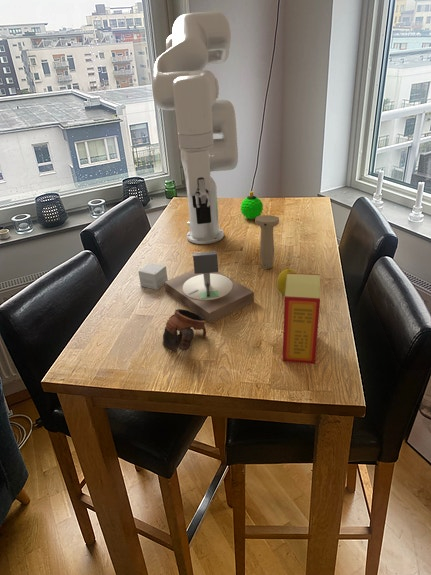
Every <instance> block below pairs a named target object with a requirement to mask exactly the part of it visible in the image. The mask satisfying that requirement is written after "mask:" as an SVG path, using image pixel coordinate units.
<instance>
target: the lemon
mask: <svg viewBox="0 0 431 575" xmlns="http://www.w3.org/2000/svg"><path fill="white" fill-rule="evenodd" d="M287 273H297V272H296V271H295V270H293V269H291V268H287V269H283V270H282V271H280V272H279V275H277V276H278V277H277V279H276V286H277V290H278V291H279V293H280V294H282V296H285V289H286V280H287Z"/></svg>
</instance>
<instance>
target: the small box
mask: <svg viewBox="0 0 431 575" xmlns="http://www.w3.org/2000/svg"><path fill="white" fill-rule="evenodd" d="M137 273H138V276H139V277H138V278H139V282H140V286H141V287H144V288H147V289H152V290H156V291H157V290H159V289H160V288H161V287H162V286H164V285H165V283H164V282H165V281H168V280H169V279H168V272H167V266H166V265H162V264H157V263H152V262H149V263H148V264H146V265H145V266H144V267H142V268H140V269H139V270H138V271H137Z"/></svg>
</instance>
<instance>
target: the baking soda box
mask: <svg viewBox="0 0 431 575" xmlns="http://www.w3.org/2000/svg"><path fill="white" fill-rule="evenodd" d="M320 278H321V275H320V274H318V273H317V274H316V273H297V272H296V273H287V280H286V289H285V295H284V301H283V302H284V304H283V305H284V306H283V334H282V335H283V342H282V343H283V344H282V345H283V346H282V362H288V363H289V362H291V363H302V364H316V354H317V342H318V333H319V332H318V331H319V330H318V329H319V318H320V307H321V306H320V304H321V282H320V281H321V279H320Z"/></svg>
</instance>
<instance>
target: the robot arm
mask: <svg viewBox="0 0 431 575" xmlns="http://www.w3.org/2000/svg"><path fill="white" fill-rule="evenodd" d="M171 32H172V34H170V35H169V36H168V37H167V38H166V41H165V48H166V50H165V52H163V53H162V54H161V55H159V56H158V57H157V58H156V61H155V63H154V66H153V71H152V84H151V86H152V96H153V100H154V103H155V104H156V107H157V108H159V109H160V110H163V111H174V113H175V122H176V132H177V142H178V149H179V150H180V161H181V164H182V165H181V166H182V168H183V173H184V178H185V185H186V193H187V204H188V205H187V206H188V214H189V221H187V222H186V226H188V227H189V231H188V232H187V233H186V239H187V241H189V242H190V243H192V244H197V245H209V244H210V245H211V244H214V243H218V242H219V241H221V240H222V239H223V238H224V236H225V232H224V230H223V229H221V228H220V222H219V221H220V220H219V204H218V190H217V184H216V181H215V180H214V178H213V177H212V176H211V172H224V171H225V172H226V171H231V170H234V169H235V168H236V167H238V166H237V165H238V162H239V151H238V150H239V148H238V134H237V120H236V119H237V118H236V112H235V107H234V105H233V103H232V102H231V101H230V100H228V99H219V94H220V93H219V90H220V87H219V81H218V78H217V77H216V76H215V74H214V73H213V72H212V71H210V70H207V69H205V67H206V66H207V65H219V64H220V65H221V64H223V63H225V62H227V61H228V58H229V54H230V47H231V39H232V38H231V37H232V36H231V26H230V22H229V19H228V18H227V16H226V15H225V14H224V13H223V12H221V11H218V10H217V11H206V12H205V11H203V12H202V11H201V12H189V13H185V14H181V15H179V16H178V17H177V18H176V20H175V21H174V23H173V26H172V31H171ZM214 135H220V136H221V138H214Z"/></svg>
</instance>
